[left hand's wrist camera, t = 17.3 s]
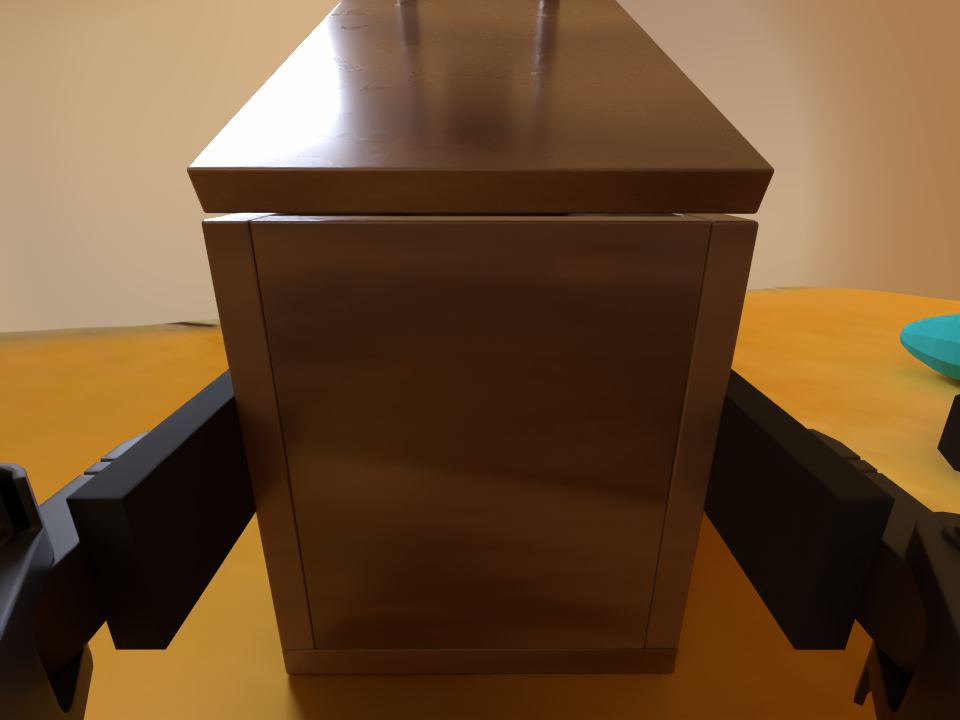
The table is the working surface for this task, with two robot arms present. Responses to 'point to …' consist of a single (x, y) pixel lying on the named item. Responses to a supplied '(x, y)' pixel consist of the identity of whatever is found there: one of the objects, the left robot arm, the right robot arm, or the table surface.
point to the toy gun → (940, 368)
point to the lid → (480, 119)
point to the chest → (479, 429)
